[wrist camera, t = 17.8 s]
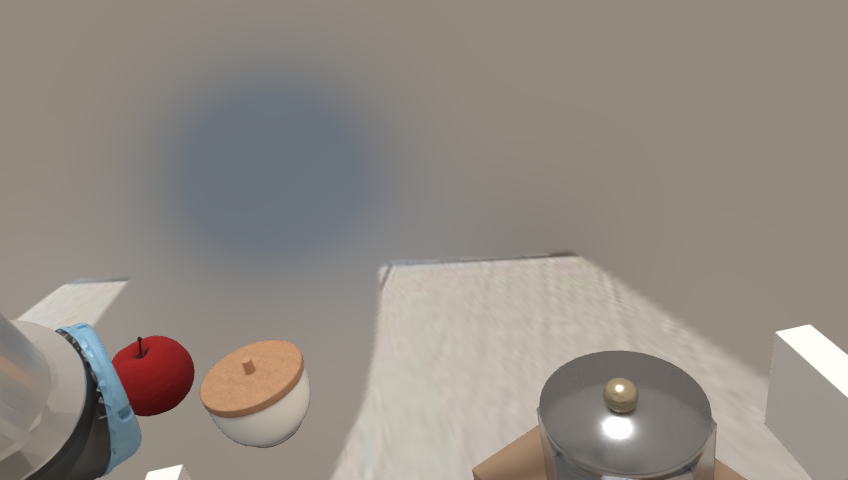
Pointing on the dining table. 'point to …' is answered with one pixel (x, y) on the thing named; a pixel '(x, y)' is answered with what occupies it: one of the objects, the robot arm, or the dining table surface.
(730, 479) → the serving board
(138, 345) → the apple
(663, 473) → the silver lidded pot
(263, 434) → the lidded jar
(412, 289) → the dining table surface
